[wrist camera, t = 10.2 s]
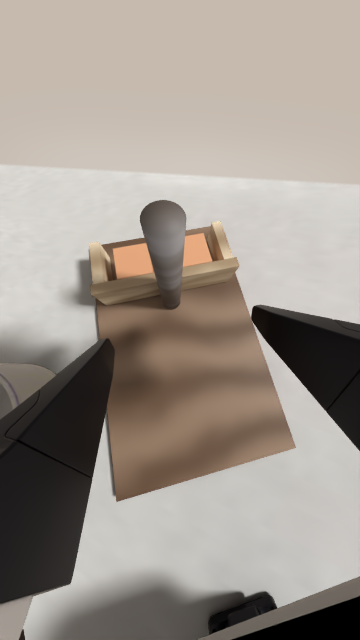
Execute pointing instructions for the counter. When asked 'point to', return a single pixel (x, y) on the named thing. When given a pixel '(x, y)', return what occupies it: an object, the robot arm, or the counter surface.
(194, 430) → the board
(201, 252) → the block
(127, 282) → the wooden pusher with handle
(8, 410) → the teacup
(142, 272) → the block
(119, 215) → the counter surface
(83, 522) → the robot arm
